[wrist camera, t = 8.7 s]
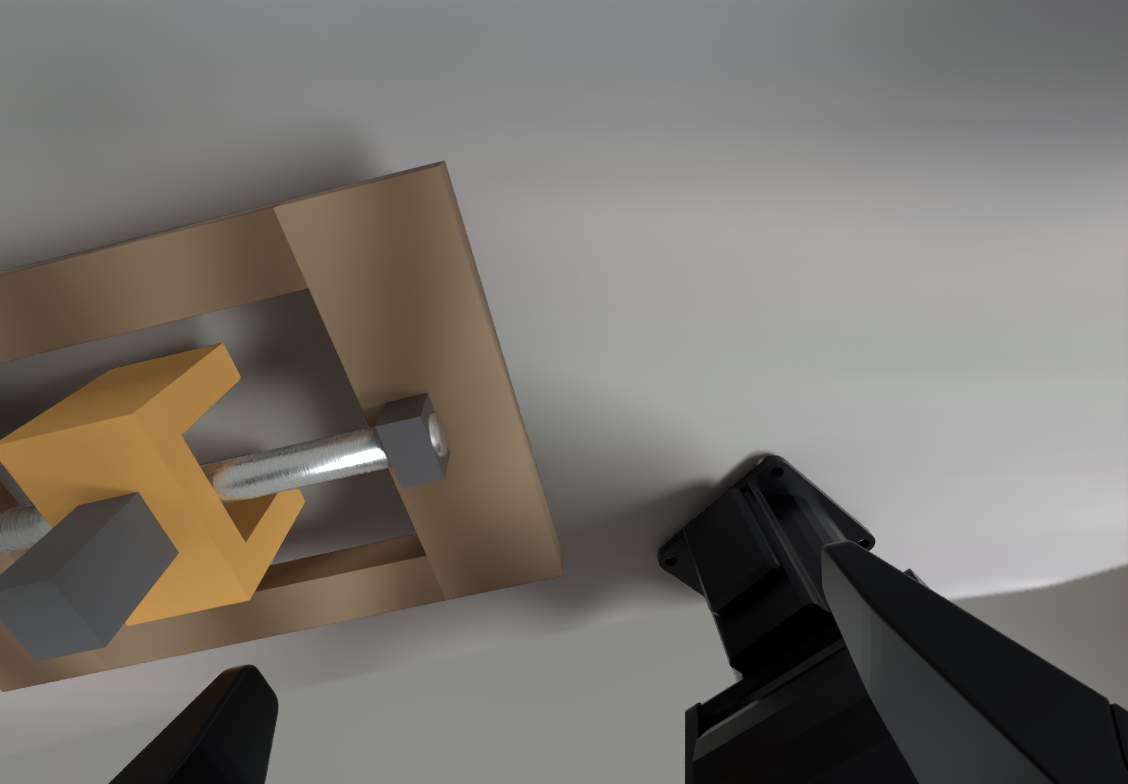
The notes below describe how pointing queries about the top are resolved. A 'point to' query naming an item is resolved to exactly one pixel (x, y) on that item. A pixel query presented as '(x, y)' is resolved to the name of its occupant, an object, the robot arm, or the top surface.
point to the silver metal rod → (303, 465)
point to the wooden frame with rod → (375, 370)
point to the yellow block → (131, 509)
